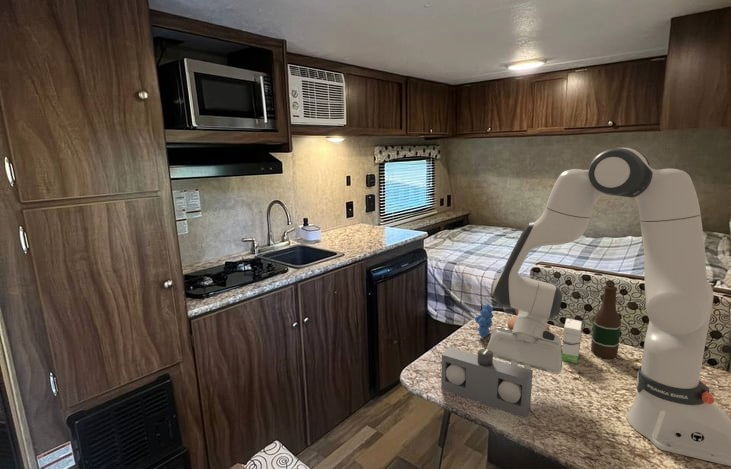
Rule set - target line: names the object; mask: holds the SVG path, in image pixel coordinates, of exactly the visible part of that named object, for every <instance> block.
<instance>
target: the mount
mask: <svg viewBox="0 0 731 469" xmlns="http://www.w3.org/2000/svg"><path fill="white" fill-rule="evenodd" d="M451 364H454V365H457V366H461V367H464V368H466V379H465V381H464V382H463V383H462V384H460V385H455V384H453V383H451V382H450V381H449V380H448V378H447V376H446V370H447V368H448V367H449V366H450V365H451ZM440 373H441V375H440V376H441V380H440V381H441V382H440V383H441V384H440V385H441V386H440V388H441V390H443V391H446V392H448V393H452V394H454V395H457V396H461V397H463V398H465V399H469V400H472V401H474V402H477V403H480V404H484V405H486V406H489V407H492V408H495V409H498V410H499V411H504V412H506V413H510V414H512V415H515V416H517V417H521V418H523V419H526V417H527V415H528V413H529V411H530V409H531V402H532V401H531V400H532V388H533V369H531V370H530V369H526V368H525V367H522V366H520V365H517V366H516V365H512V364H511V363H510V362H509V363H507V362H506V361H505V362H504V361H501V360H499V359H498V360H497V359H494V358H493V364H492V365H491V366H482V365H480V364H478V354H475V353H472V352H469V351H465V350H461V349H458V348H454V347H451V346H449V347H448V348H447V349H446V350H445V351H444V352H443V353H442V354H441V372H440ZM503 380H507V381H510V382H513V383H516V384H520V385H522V395H521V397H520V399H519V400H518V401H517V402H515V403H509V402H507V401H505V400H503V399H502V398H501V396H500V395H499V392H498V388H499V386H500V384H501V382H502V381H503Z"/></svg>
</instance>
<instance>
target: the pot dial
mask: <svg viewBox="0 0 731 469" xmlns="http://www.w3.org/2000/svg"><path fill="white" fill-rule="evenodd" d="M477 355H478V364H480V365H482V366H491V365H492V364H493V359H494V357H493V352H492V351H490V350H487V348H481V349H478V351H477Z"/></svg>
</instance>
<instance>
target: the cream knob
mask: <svg viewBox="0 0 731 469" xmlns="http://www.w3.org/2000/svg"><path fill="white" fill-rule="evenodd" d="M498 392H499V395H500V396H501V398H502V399H503V400H505V401H507V402H509V403H515V402H517V401H518V400H519V399H520V397H521V395H522V385H520V384H516V383H513V382H510V381H507V380H503V381H502V382H501V384H500V386H499V388H498Z"/></svg>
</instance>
